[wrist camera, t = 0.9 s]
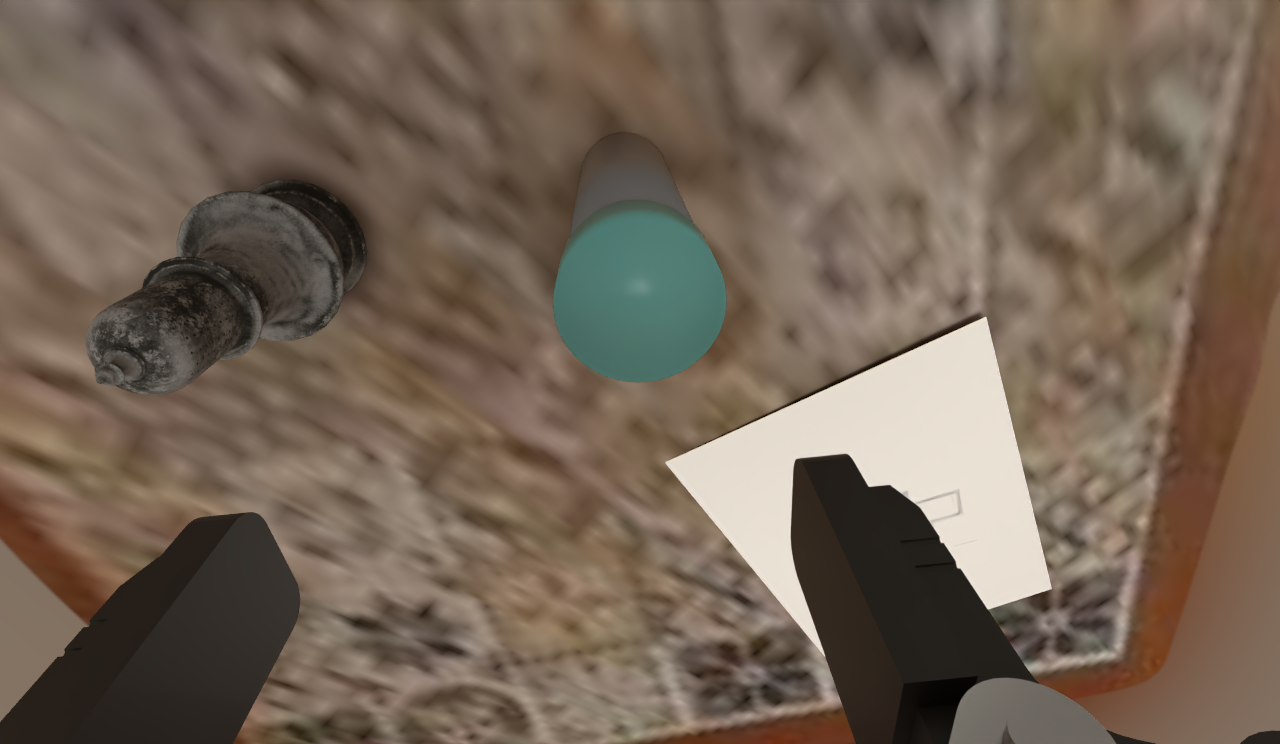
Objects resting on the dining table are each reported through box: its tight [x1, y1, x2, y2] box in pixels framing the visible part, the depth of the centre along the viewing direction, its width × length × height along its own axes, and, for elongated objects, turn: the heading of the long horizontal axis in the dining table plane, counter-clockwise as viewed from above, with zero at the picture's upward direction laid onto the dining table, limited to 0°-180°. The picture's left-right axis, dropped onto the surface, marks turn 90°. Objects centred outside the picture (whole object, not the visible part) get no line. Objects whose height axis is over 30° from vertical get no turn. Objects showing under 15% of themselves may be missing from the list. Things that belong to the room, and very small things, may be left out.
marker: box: [553, 132, 727, 382], centre depth 19 cm, size 4×4×14 cm
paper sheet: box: [665, 317, 1052, 656], centre depth 37 cm, size 24×29×1 cm
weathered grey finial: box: [86, 180, 367, 395], centre depth 21 cm, size 6×6×12 cm
